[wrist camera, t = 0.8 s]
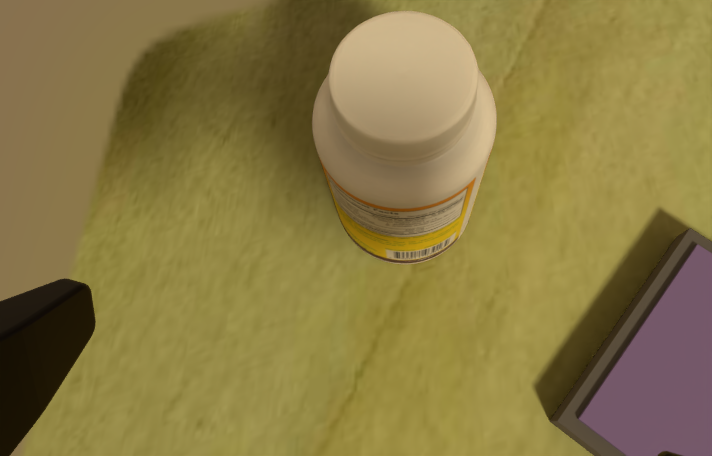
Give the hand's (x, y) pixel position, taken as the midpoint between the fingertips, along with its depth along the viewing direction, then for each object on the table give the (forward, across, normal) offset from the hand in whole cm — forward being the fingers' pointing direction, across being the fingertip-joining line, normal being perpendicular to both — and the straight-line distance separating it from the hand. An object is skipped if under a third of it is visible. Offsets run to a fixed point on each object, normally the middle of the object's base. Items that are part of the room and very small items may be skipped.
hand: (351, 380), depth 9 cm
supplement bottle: (+16, +1, +6) cm, 17 cm away
